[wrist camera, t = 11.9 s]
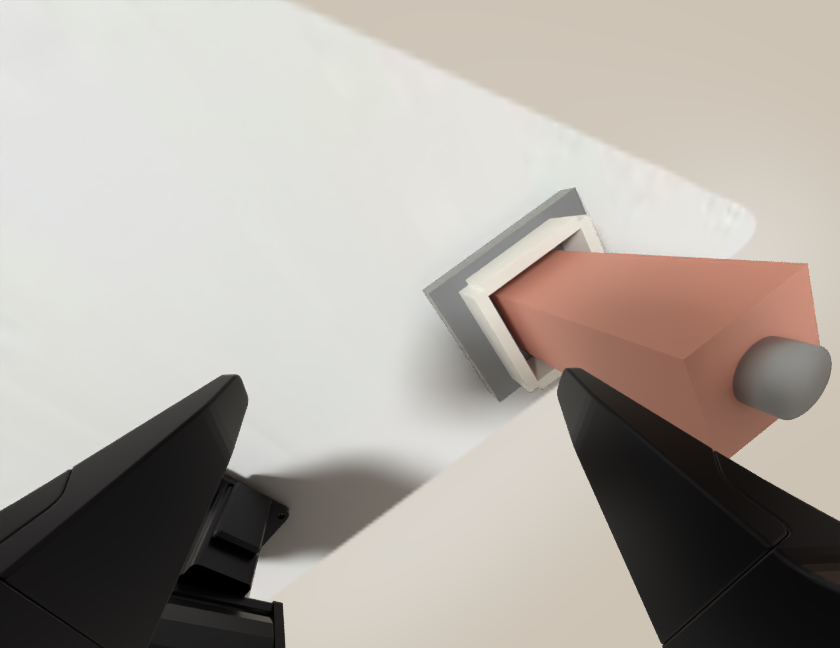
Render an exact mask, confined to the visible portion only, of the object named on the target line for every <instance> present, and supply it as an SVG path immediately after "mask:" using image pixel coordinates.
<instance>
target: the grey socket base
mask: <svg viewBox="0 0 840 648" xmlns="http://www.w3.org/2000/svg"><path fill="white" fill-rule="evenodd" d="M550 250H560V251H579V252H598V253H605V252H604V250H603V248H602V245H601V243H600V240H599V238H598V235H597V233H596V230H595V228H594V226H593V223H592V221H591V218H590V216H589V214H587V215H586V212H585V210H584V208H583V205H582V203H581V200H580V198H579V195H578V193H577V191H576V188H570V189H566V190H561V191H559V192H558V193H556V194H555V195H554V196H552V197H551V198H550V199H548V200H547V201H545V202H544V203H543V204H541V205H540V206H538V207H537V208H536V209H534V210H533V211H532V212H530V213H529V214H527V215H526V216H525V217H523V218H522V219H521V220H519V221H518V222H516V223H515V224H514V225H512V226H511V227H509V228H508V229H507V230H505V231H504V232H503V233H501V234H500V235H498V236H497V237H496V238H494V239H493V240H491V241H490V242H489V243H487V244H486V245H485V246H483V247H482V248H480V249H479V250H478V251H476V252H475V253H474V254H472V255H471V256H469V257H468V258H467V259H465V260H464V261H462V262H461V263H460V264H458V265H457V266H456V267H454V268H453V269H451V270H450V271H449V272H447V273H446V274H445V275H443V276H442V277H440V278H439V279H438V280H436V281H435V282H433V283H432V284H431V285H429V286H428V287H427V288H425V289H424V290H423V292H424V293H425V295H426V296H427V298H428V299H429V301H430V302H431V304H432V305H433V307H434V308H435V310H436V311H437V313H438V314H439V316H440V317H441V319H442V320H443V322H444V323H445V325H446V326H447V328H448V329H449V331H450V332H451V334H452V335H453V337H454V338H455V340H456V341H457V343H458V344H459V346H460V347H461V349H462V351H463V352H464V354H465V355H466V357H467V358H468V360H469V361H470V363H471V364H472V366H473V367H474V369H475V370H476V372H477V373H478V375H479V376H480V378H481V379H482V381H483V382H484V384H485V385H486V387H487V388H488V390H489V391H490V393H491V394H492V395H493V396H494V397H495V398H496V399H497V400H498V401H499V402H501V401H502V400H503V399H505V398H506V397H507V396H509V395H510V394H511V393H513V392H514V391H515V390H517V389H518V388H519V387H521V386H523V387H524V388H525V389H527V390H528V391H529V392H530V393H531V392H532V391H534V390H535V389H536V388H538V387H540V388H541V389H542V390H543V389H544V388H546V387H547V386H548V385H550V384H551V383H552V382H554V381H555V380H556V379H557V378H559V377H560V376H561V375H562V372H560V371H558V370H557V369H555V368H553V367H551V366H550V365H548V364H546V363H545V362H543V361H541V360H539V359H538V358H536V357H534V356H533V355H531V354H529V353H528V352H526V351H524V350H522V349H521V348H520V346H519V344H518V343H517V341H516V339H515V337H514V336H513V334H512V332H511V330H510V329H509V327H508V325H507V323H506V322H505V320H504V318H503V316H502V315H501V313H500V311H499V309H498V307H497V306H496V304H495V302H494V300H493V299H492V297H491V295H490V294H492V293H493V292H495V291H496V290H497V289H499V288H500V287H501V286H503V285H504V284H505V283H507V282H508V281H509V280H511V279H512V278H514V277H515V276H516V275H518V274H519V273H520V272H522V271H523V270H524V269H526V268H527V267H529V266H530V265H531V264H533V263H534V262H535V261H537V260H538V259H539V258H541V257H542V256H543V255H545V254H546V253H548V252H549V251H550Z"/></svg>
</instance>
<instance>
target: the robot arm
mask: <svg viewBox="0 0 840 648" xmlns="http://www.w3.org/2000/svg"><path fill="white" fill-rule="evenodd" d="M557 396H558V400H559V403H560V406H561V409H562V412H563V415H564V419H565V421H566V424H567V428H568V431H569V434H570V437H571V440H572V443H573V446H574V448H575V451H576V453H577V456H578V458H579V460H580V462H581V465H582V467H583V469H584V471H585V473H586V476H587V478H588V480H589V482H590V485H591V487H592V489H593V492H594V494H595V496H596V498H597V500H598V503H599V505H600V507H601V510H602V512H603V514H604V516H605V519H606V521H607V523H608V525H609V528H610V530H611V532H612V534H613V536H614V539H615V541H616V543H617V545H618V548H619V550H620V552H621V554H622V557H623V559H624V561H625V563H626V566H627V568H628V570H629V572H630V575H631V577H632V579H633V581H634V584H635V586H636V588H637V590H638V593H639V595H640V597H641V599H642V602H643V604H644V606H645V608H646V611H647V613H648V615H649V617H650V620H651V622H652V624H653V626H654V629H655V631H656V633H657V635H658V637H659V640H660V642H661V643H662V644H663V646H662V647H663V648H840V521H838V520H836V519H835V518H833V517H831V516H829V515H827V514H825V513H824V512H822V511H820V510H818V509H816V508H814V507H813V506H811V505H809V504H807V503H805V502H803V501H802V500H800V499H798V498H796V497H794V496H792V495H791V494H789V493H787V492H786V491H784V490H782V489H780V488H778V487H776V486H775V485H773V484H771V483H769V482H768V481H766V480H764V479H762V478H761V477H759V476H757V475H756V474H754V473H752V472H751V471H749V470H747V469H745V468H744V467H742V466H740V465H739V464H737V463H735V462H734V461H732V460H730V459H729V458H727V457H726V456H724V455H722V454H721V453H719V452H718V451H713V449H712V448H711V447H709V446H708V445H706V444H704V443H703V442H701V441H699V440H698V439H696V438H694V437H693V436H691V435H690V434H688V433H686V432H685V431H683V430H681V429H680V428H678V427H676V426H675V425H673V424H672V423H670V422H668V421H667V420H665V419H663V418H662V417H660V416H659V415H657V414H655V413H654V412H652V411H650V410H649V409H647V408H645V407H644V406H642V405H641V404H639V403H637V402H636V401H634V400H632V399H631V398H629V397H627V396H626V395H624V394H623V393H621V392H619V391H618V390H616V389H614V388H613V387H611V386H609V385H608V384H606V383H605V382H603V381H601V380H600V379H598V378H596V377H595V376H593V375H592V374H590V373H588V372H587V371H585V370H583V369H582V368H578V367H574V368H565V369H564V370H563V372H562V376H561V379H560V382H559V386H558V390H557ZM247 406H248V395H247V393H246V390H245V387H244V384H243V382H242V379H241V377H240V376H239V375H237V374H229V375H221V376H220V377H218V378H216V379H215V380H213V381H211V382H210V383H208V384H207V385H205V386H203V387H202V388H200V389H199V390H197V391H195V392H194V393H192V394H190V395H189V396H187V397H186V398H184V399H182V400H181V401H179V402H178V403H176V404H174V405H173V406H171V407H169V408H168V409H166V410H165V411H163V412H161V413H160V414H158V415H156V416H155V417H153V418H152V419H150V420H148V421H147V422H145V423H144V424H142V425H140V426H139V427H137V428H135V429H134V430H132V431H131V432H129V433H127V434H126V435H124V436H122V437H121V438H119V439H118V440H116V441H114V442H113V443H111V444H110V445H108V446H106V447H105V448H103V449H101V450H100V451H98V452H97V453H95V454H93V455H92V456H90V457H89V458H87V459H85V460H84V461H82V462H80V463H79V464H77V465H76V466H74V467H73V469H72V470H71V469H70V470H67V471H66V472H64V473H63V474H61V475H59V476H58V477H56V478H54V479H53V480H51V481H50V482H48V483H46V484H45V485H43V486H41V487H40V488H38V489H36V490H35V491H33V492H31V493H30V494H28V495H26V496H25V497H23V498H21V499H20V500H18V501H17V502H15V503H13V504H11V505H10V506H8V507H6V508H4V509H3V510H1V511H0V648H285V633H284V617H283V603H281V602H276V601H273V602H272V603H270V602H266V601H261V600H256V599H252V598H249V595H250V591H251V587H252V582H253V578H254V574H255V570H256V565H257V561H258V557H259V552H260V550H261V547H262V546H263V545H264V544H265V543H266V542H267V541H268V540H269V538H270V537H271V536H272V535H273V534H274V533H275V532H276V531H277V530H278V529H279V528H280V527H281V525H282V524H283V523H284V522H285V521H286V520H287V519H288V517H289V508H287V507H286V506H284V505H282V504H280V503H278V502H276V501H274V500H273V499H271V498H269V497H267V496H265V495H263V494H261V493H259V492H258V491H256V490H254V489H252V488H250V487H248V486H246V485H244V484H242V483H240V482H238V481H236V480H234V479H233V478H231V477H229V476H227V475H225V474H224V472H225V470H226V468H227V466H228V463H229V461H230V458H231V456H232V453H233V450H234V447H235V444H236V441H237V438H238V434H239V431H240V428H241V425H242V422H243V418H244V415H245V412H246V409H247ZM281 513H283V514H284V515H279V514H281Z"/></svg>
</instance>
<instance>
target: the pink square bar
mask: <svg viewBox="0 0 840 648" xmlns="http://www.w3.org/2000/svg"><path fill="white" fill-rule="evenodd" d="M490 295H491V297H492V299H493V300H494V302H495V304H496V306H497V307H498V309H499V311H500V313H501V315H502V316H503V318H504V320H505V322H506V323H507V325H508V327H509V329H510V330H511V332H512V334H513V336H514V337H515V339H516V341H517V343H518V344H519V346H520V348H521V349H522V350H524V351H526V352H528V353H529V354H531V355H533V356H534V357H536V358H538V359H539V360H541V361H543V362H545V363H546V364H548V365H550V366H551V367H553V368H555V369H557V370H558V371H560V372H563V370H564V369H565V368H574V367H578V368H582V369H583V370H585V371H587V372H588V373H590V374H592V375H593V376H595V377H596V378H598V379H600V380H601V381H603V382H605V383H606V384H608V385H609V386H611V387H613V388H614V389H616V390H618V391H619V392H621V393H623V394H624V395H626V396H627V397H629V398H631V399H632V400H634V401H636V402H637V403H639V404H641V405H642V406H644V407H645V408H647V409H649V410H650V411H652V412H654V413H655V414H657V415H659V416H660V417H662V418H663V419H665V420H667V421H668V422H670V423H672V424H673V425H675V426H676V427H678V428H680V429H681V430H683V431H685V432H686V433H688V434H690V435H691V436H693V437H694V438H696V439H698V440H699V441H701V442H703V443H704V444H706V445H708V446H709V447H711V448H712V449H713V451H718V452H719V453H721V454H722V455H724V456H726V457H727V458H730V457H732V456H733V455H734V454H735V453H737V452H738V451H739V450H740V449H741V448H743V447H744V446H745V445H746V444H748V443H749V442H750V441H751V440H753V439H754V438H755V437H756V436H758V435H759V434H760V433H761V432H762V431H764V430H765V429H766V428H767V427H769V426H770V425H771V424H772V423H773V422H775V421H776V420H777V419H778V418H780V419H783V420H791V419H794V418H797V417H799V416H801V415H803V414H804V413H805V412H807V411H808V410H809V409H810V408H811V407H812V406H813V405H814V404H815V403H816V402H817V400H818V399H819V398H820V396H821V395H822V393H823V391H824V389H825V387H826V385H827V383H828V380H829V378H830V373H831V365H832V363H831V357H830V354H829V352H828V351H827V350H826V349H825V348H824V347H822V346H820V342H819V335H818V329H817V322H816V316H815V309H814V303H813V296H812V290H811V283H810V276H809V270H808V264H805V263H786V262H768V261H748V260H730V259H711V258H692V257H673V256H654V255H635V254H616V253H598V252H579V251H560V250H550V251H549V252H548V253H546V254H545V255H543V256H542V257H541V258H539V259H538V260H537V261H535V262H534V263H533V264H531V265H530V266H529V267H527V268H526V269H524V270H523V271H522V272H520V273H519V274H518V275H516V276H515V277H514V278H512V279H511V280H509V281H508V282H507V283H505V284H504V285H503V286H501V287H500V288H499V289H497V290H496V291H495V292H493V293H492V294H490Z"/></svg>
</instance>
